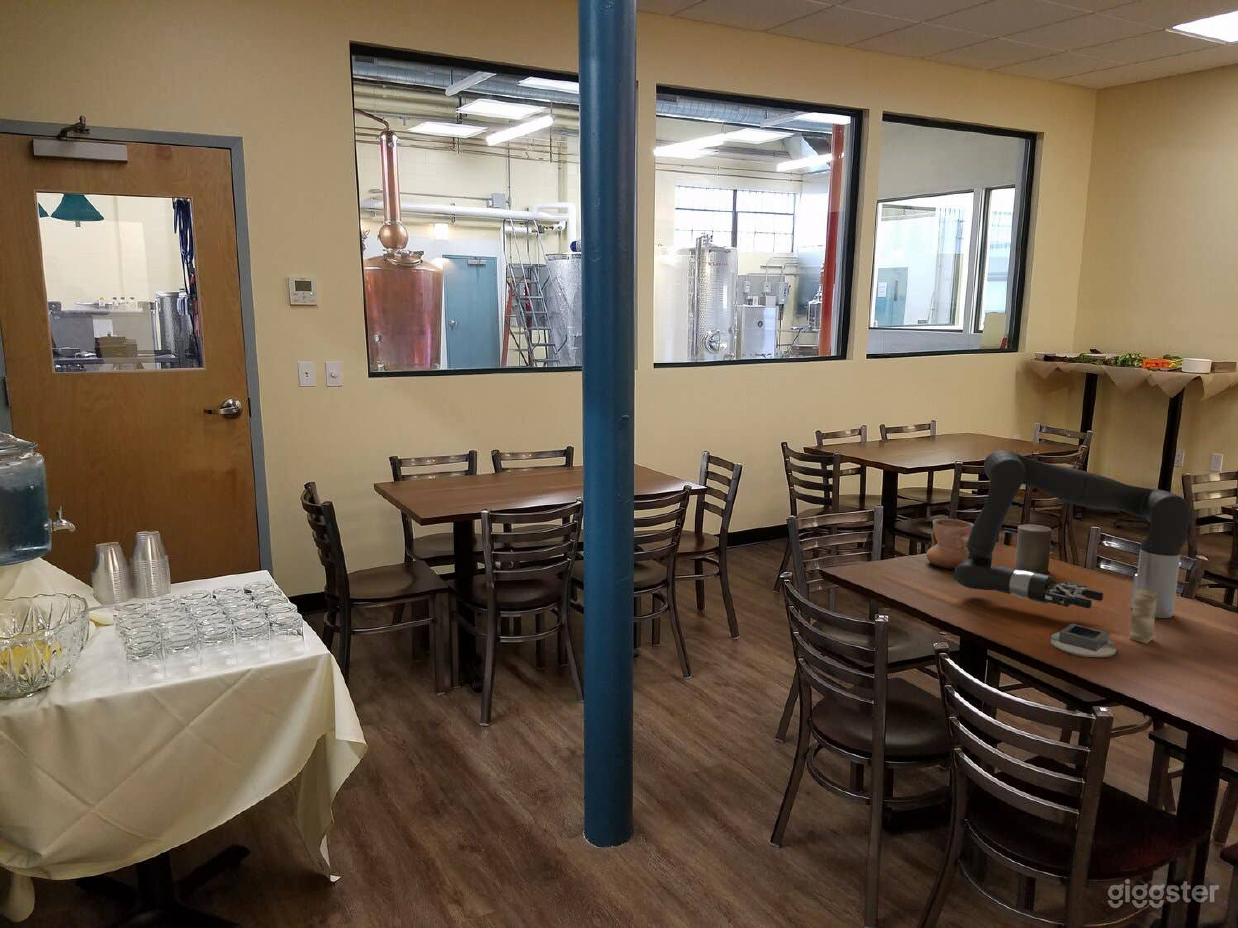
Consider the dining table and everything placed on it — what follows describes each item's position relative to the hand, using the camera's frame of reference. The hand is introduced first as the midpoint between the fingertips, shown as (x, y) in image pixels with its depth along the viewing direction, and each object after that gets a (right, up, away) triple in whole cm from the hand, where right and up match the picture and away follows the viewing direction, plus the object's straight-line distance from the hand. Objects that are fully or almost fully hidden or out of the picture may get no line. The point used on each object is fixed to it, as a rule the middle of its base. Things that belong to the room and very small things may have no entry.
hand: (1096, 600), depth 221 cm
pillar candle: (+7, +1, +51) cm, 51 cm away
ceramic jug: (-17, +2, +55) cm, 58 cm away
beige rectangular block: (+7, -9, -6) cm, 13 cm away
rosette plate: (-10, -9, -12) cm, 18 cm away
